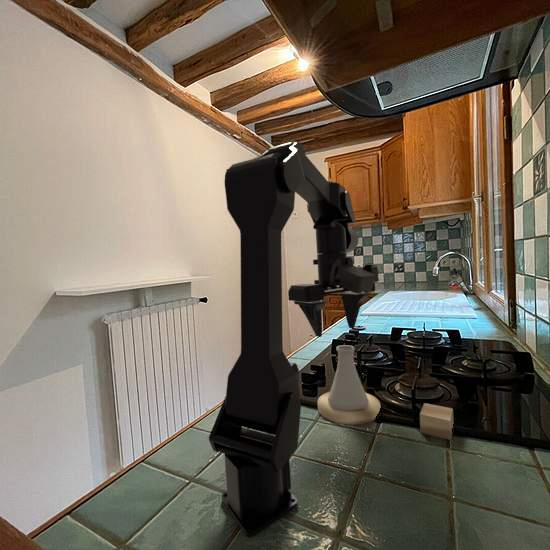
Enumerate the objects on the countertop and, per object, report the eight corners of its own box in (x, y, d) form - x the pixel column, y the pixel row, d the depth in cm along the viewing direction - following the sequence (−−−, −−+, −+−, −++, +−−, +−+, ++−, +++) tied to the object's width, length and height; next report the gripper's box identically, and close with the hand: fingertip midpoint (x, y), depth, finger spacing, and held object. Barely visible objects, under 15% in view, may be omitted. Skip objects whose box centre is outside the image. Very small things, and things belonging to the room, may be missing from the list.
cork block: (450, 441, 43) (450, 420, 43) (420, 433, 46) (419, 414, 46) (453, 427, 47) (452, 408, 46) (425, 421, 49) (424, 403, 49)
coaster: (351, 432, 47) (351, 425, 47) (305, 407, 56) (304, 401, 56) (393, 409, 53) (393, 403, 53) (345, 389, 62) (345, 384, 62)
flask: (371, 413, 50) (368, 353, 49) (326, 411, 51) (323, 353, 51) (367, 394, 57) (364, 342, 57) (328, 393, 58) (325, 342, 58)
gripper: (326, 252, 47) (332, 351, 48) (396, 249, 58) (400, 329, 58) (284, 256, 56) (289, 338, 57) (351, 252, 67) (355, 322, 67)
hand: (336, 332), depth 60 cm, fingers open, 9 cm apart
